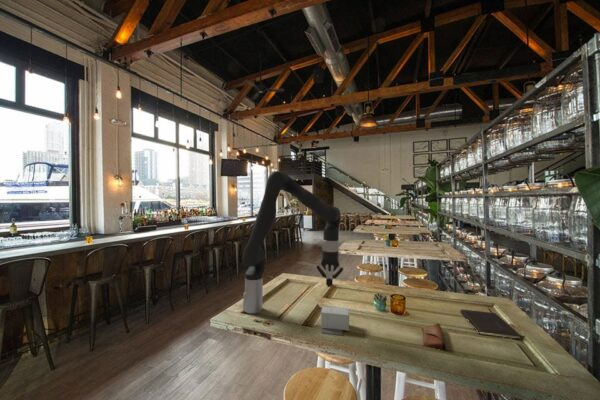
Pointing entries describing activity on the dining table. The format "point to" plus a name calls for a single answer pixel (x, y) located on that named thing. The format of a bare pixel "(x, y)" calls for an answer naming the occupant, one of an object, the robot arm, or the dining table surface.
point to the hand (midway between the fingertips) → (329, 286)
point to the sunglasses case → (433, 337)
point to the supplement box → (335, 318)
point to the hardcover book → (489, 323)
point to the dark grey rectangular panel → (332, 331)
